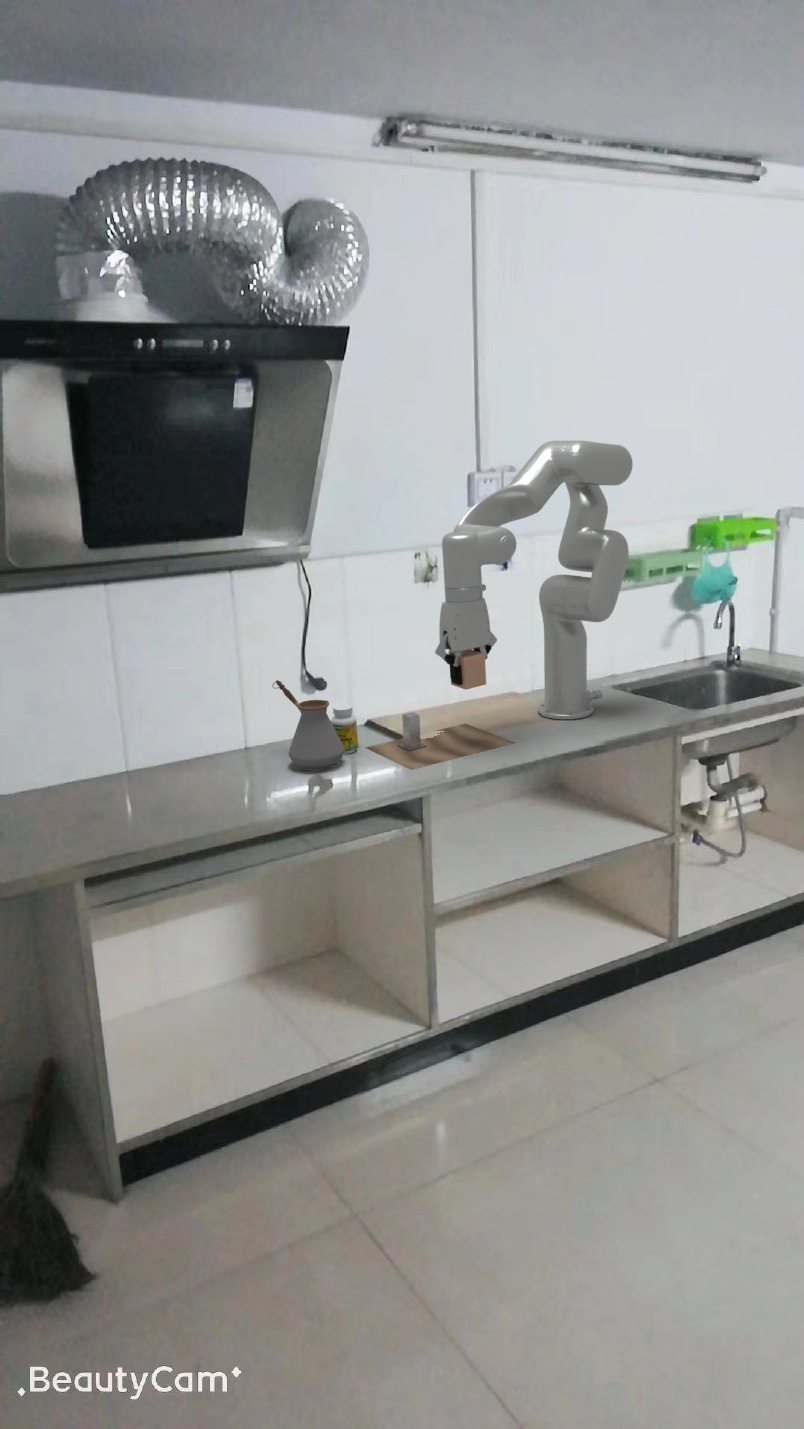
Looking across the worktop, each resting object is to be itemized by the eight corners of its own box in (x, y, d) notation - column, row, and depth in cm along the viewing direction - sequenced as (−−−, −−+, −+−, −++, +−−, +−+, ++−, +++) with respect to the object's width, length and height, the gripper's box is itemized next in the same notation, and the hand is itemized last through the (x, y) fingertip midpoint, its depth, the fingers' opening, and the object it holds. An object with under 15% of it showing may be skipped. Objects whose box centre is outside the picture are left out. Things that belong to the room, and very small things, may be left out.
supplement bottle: (360, 746, 225) (357, 703, 222) (356, 754, 220) (353, 710, 217) (335, 746, 225) (332, 703, 223) (331, 755, 220) (328, 711, 217)
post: (415, 741, 223) (413, 710, 221) (426, 746, 220) (425, 714, 218) (397, 746, 221) (396, 714, 219) (409, 751, 217) (407, 718, 215)
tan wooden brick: (471, 679, 221) (469, 649, 219) (486, 684, 217) (484, 653, 215) (451, 684, 218) (449, 653, 216) (465, 689, 214) (464, 658, 212)
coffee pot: (356, 765, 213) (351, 693, 209) (306, 778, 207) (301, 704, 203) (304, 741, 230) (299, 674, 226) (257, 752, 224) (251, 684, 220)
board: (465, 726, 235) (465, 723, 234) (515, 746, 220) (515, 742, 220) (365, 751, 221) (364, 747, 221) (411, 773, 207) (411, 769, 207)
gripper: (486, 585, 219) (490, 669, 224) (418, 598, 210) (424, 685, 216) (508, 589, 213) (512, 675, 218) (439, 603, 204) (444, 693, 210)
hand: (468, 679), depth 217 cm, fingers closed on tan wooden brick, 5 cm apart
